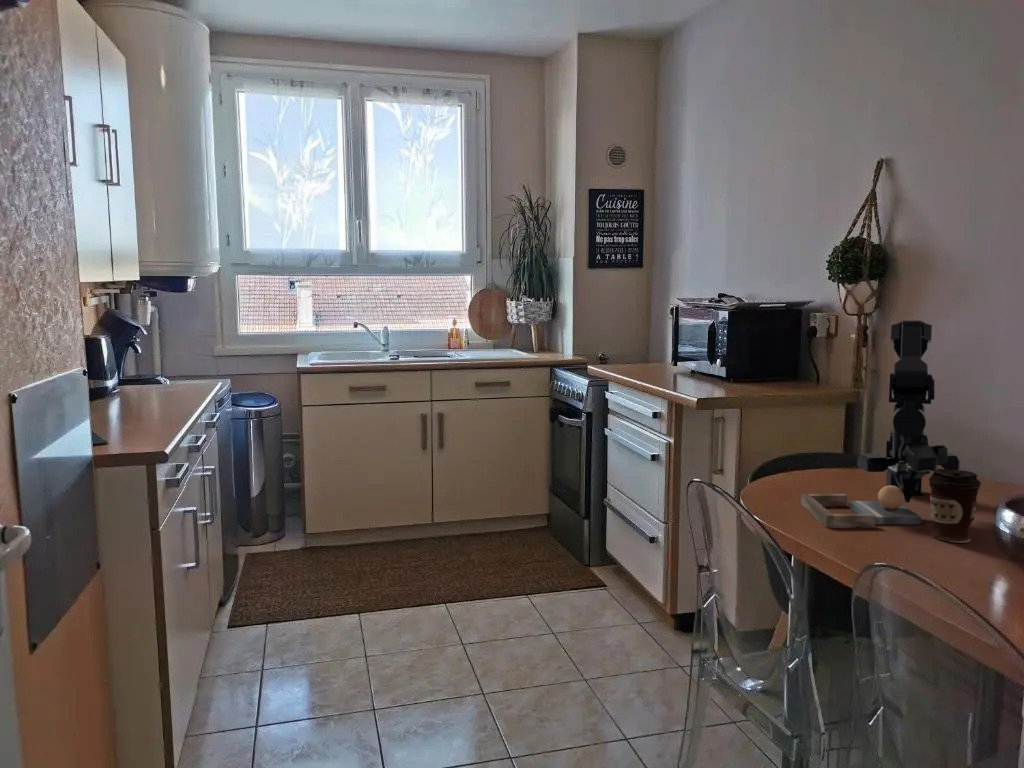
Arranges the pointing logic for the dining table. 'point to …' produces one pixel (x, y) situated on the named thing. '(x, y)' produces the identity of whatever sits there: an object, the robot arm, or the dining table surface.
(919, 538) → the dining table surface
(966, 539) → the coffee cup
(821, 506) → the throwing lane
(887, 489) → the ball
